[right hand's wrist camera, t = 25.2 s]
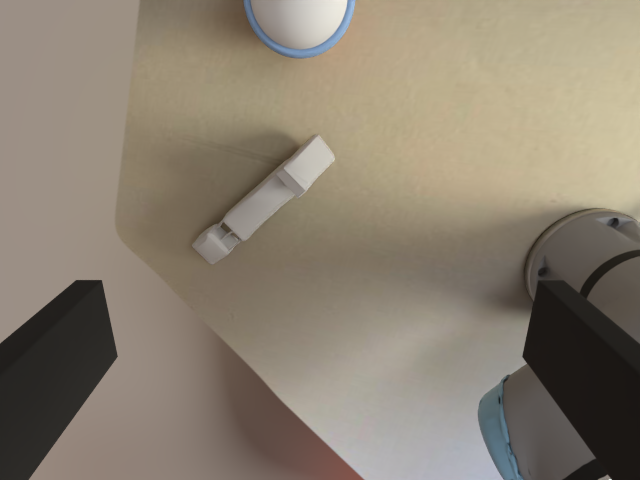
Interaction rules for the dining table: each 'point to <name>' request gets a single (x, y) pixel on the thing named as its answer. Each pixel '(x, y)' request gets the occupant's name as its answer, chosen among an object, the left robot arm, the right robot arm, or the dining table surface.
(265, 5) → the cup with straw
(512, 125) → the dining table surface
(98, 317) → the right robot arm
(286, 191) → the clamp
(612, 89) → the dining table surface
